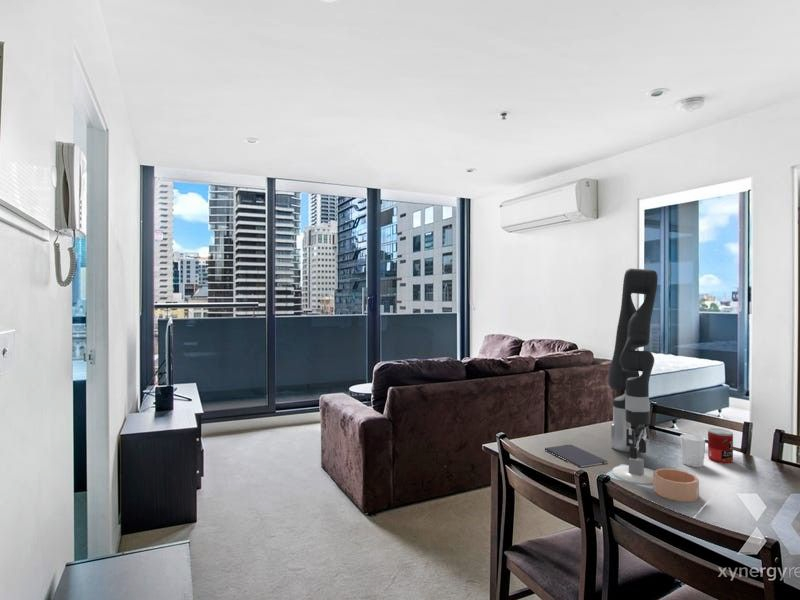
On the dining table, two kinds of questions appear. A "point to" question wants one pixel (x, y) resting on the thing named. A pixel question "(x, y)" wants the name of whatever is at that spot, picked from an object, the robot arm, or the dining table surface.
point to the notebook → (576, 455)
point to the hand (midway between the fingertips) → (638, 455)
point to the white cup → (692, 450)
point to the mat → (629, 482)
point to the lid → (634, 472)
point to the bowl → (676, 484)
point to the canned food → (720, 445)
